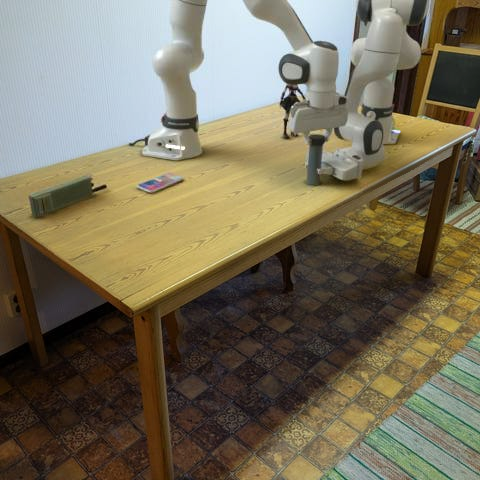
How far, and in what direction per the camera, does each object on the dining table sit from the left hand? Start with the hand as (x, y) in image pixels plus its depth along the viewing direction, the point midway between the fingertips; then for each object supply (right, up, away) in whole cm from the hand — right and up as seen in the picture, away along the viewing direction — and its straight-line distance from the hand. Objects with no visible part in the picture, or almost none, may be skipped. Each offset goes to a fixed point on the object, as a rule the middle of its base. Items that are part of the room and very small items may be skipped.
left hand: (316, 142), depth 160 cm
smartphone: (-50, -13, +4) cm, 52 cm away
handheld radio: (-74, -20, -9) cm, 78 cm away
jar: (0, -12, +7) cm, 14 cm away
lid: (0, +1, -1) cm, 2 cm away
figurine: (-4, +12, +49) cm, 51 cm away
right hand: (-1, -8, +4) cm, 9 cm away
